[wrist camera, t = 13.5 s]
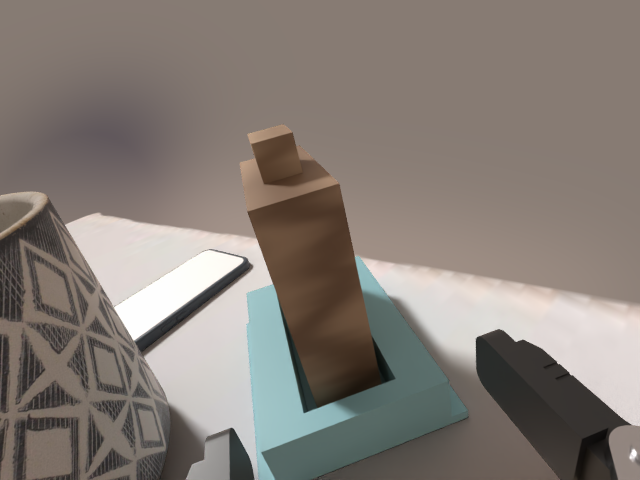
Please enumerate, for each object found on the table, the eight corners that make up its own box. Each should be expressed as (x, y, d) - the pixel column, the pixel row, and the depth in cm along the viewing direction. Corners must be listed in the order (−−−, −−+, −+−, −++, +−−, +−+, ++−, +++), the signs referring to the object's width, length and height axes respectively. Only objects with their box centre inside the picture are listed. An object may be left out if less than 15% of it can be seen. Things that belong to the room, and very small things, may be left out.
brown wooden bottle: (322, 422, 21) (230, 164, 13) (295, 326, 29) (228, 131, 21) (384, 398, 21) (329, 136, 14) (341, 310, 29) (291, 113, 22)
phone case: (211, 257, 46) (88, 337, 36) (207, 246, 46) (80, 325, 35) (256, 269, 41) (127, 367, 31) (252, 257, 40) (119, 354, 30)
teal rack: (263, 498, 18) (240, 460, 17) (248, 329, 31) (234, 297, 29) (468, 417, 20) (466, 373, 18) (375, 285, 32) (369, 252, 30)
